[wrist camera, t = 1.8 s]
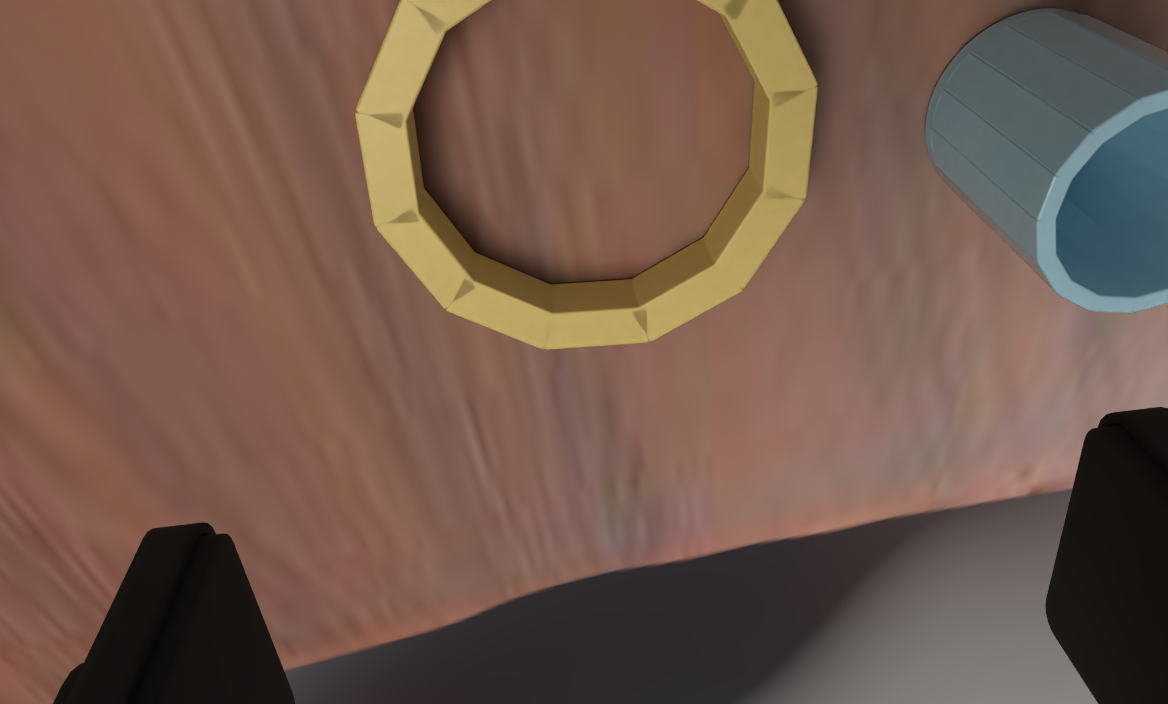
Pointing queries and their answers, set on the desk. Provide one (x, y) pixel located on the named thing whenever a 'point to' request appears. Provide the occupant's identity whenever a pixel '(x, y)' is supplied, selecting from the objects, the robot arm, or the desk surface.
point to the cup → (1063, 152)
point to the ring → (602, 305)
